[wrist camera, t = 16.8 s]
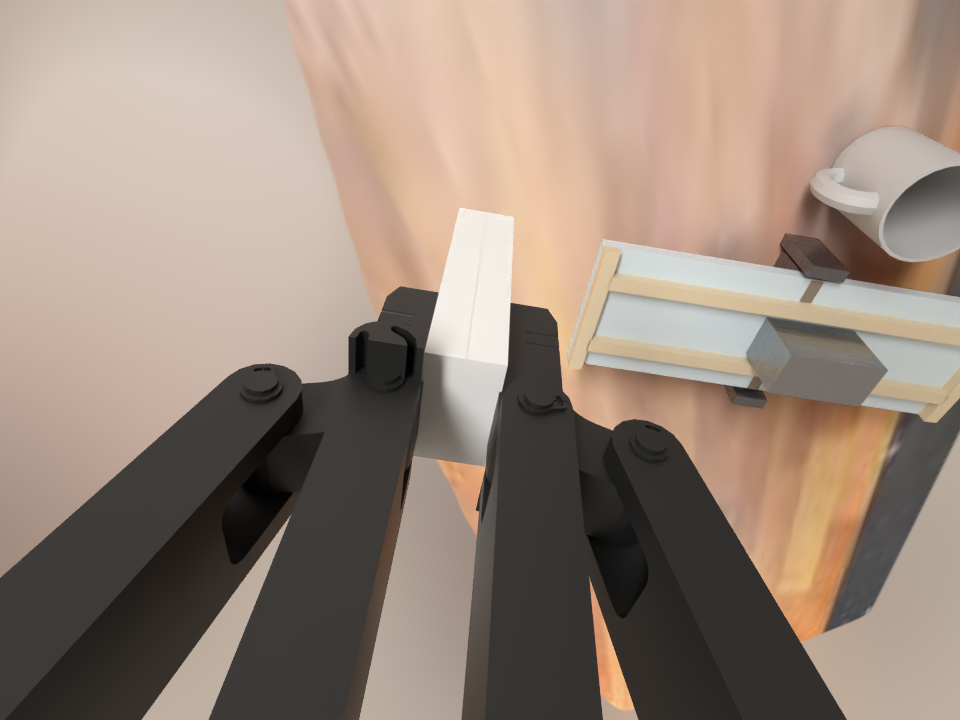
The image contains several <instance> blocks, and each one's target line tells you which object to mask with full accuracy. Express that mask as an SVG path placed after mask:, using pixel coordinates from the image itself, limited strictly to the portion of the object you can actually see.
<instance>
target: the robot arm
mask: <svg viewBox="0 0 960 720" xmlns="http://www.w3.org/2000/svg"><path fill="white" fill-rule="evenodd" d="M513 228H514V217H511V216H505V215H499V214H494V213H488V212H482V211H476V210H470V209H464V208H460V209H459V213H458V217H457V221H456V225H455V229H454V233H453V237H452V241H451V246H450V250H449V254H448V258H447V262H446V266H445V270H444V274H443V278H442V282H441V286H440V290H439V293H437V292H431V291H425V290H419V289H413V288H407V287H401V286H400V287H399V288H397V289H396V290H395V291H394V292H392V293H391V294H390V295H388V296H387V298H386V300H385V303H384V306H383V308H382V312H381V313H380V316H379V319H378V321H377V322H371V323H366V324H364V325H362V326H360V327H358V328H356V329H355V330H354V331H353V332H352V333H351V334H350V336H349V373H348V375H347V376H345V377H343V378H340V379H337V380H334V381H328V382H320V383H306V384H301V379H300V378H299V377H298V375H297V374H296V373H295V372H294V371H292V370H290V369H288V368H287V367H284V366H280V365H275V364H255V365H251V366H248V367H245V368H242V369H239V370H238V371H236V372H234V373H233V374H231V375H230V376H228V377H227V378H226V379H225V380H224V381H222V382H221V383H220V384H219V385H218V386H217V387H216V388H215V389H213V390H212V391H211V392H210V393H209V394H208V395H207V396H205V397H204V398H203V399H202V400H201V401H200V402H199V403H198V404H197V405H195V406H194V407H193V408H192V409H191V410H190V411H189V412H187V414H185V415H184V416H183V417H182V418H181V419H179V420H178V421H177V422H176V423H175V424H174V425H173V426H172V427H170V428H169V429H168V430H167V431H166V432H165V433H164V434H163V435H161V436H160V437H159V438H158V439H157V440H156V441H155V442H153V443H152V444H151V445H150V446H149V447H148V448H147V449H146V450H144V451H143V452H142V453H141V454H140V455H139V456H138V457H137V458H136V459H134V460H133V461H132V462H131V463H130V464H129V465H127V466H126V467H125V468H124V469H123V470H122V471H121V472H120V473H119V474H117V475H116V476H115V477H114V478H113V479H112V480H110V481H109V482H108V483H107V484H106V485H105V486H104V487H103V488H101V489H100V490H99V491H98V492H97V493H96V494H95V495H94V496H92V497H91V498H90V499H89V500H88V501H87V502H86V503H85V504H83V505H82V506H81V507H80V508H79V509H78V510H77V511H75V512H74V513H73V514H72V515H71V516H70V517H69V518H68V519H66V520H65V521H64V522H63V523H62V524H61V525H60V526H59V527H57V528H56V529H55V530H54V531H53V532H52V533H51V534H50V535H48V536H47V537H46V538H45V539H44V540H43V541H42V542H40V543H39V544H38V545H37V546H36V547H35V548H34V549H33V550H31V551H30V552H29V553H28V554H27V555H26V556H25V557H23V558H22V559H21V560H20V561H19V562H18V563H17V564H16V565H14V566H13V567H12V568H11V569H10V570H9V571H8V572H7V573H5V574H4V575H3V576H2V577H1V578H0V720H142V718H143V717H144V715H145V714H146V713H147V711H148V710H149V709H150V707H151V706H152V704H153V703H154V702H155V700H156V699H157V697H158V696H159V695H160V693H161V692H162V691H163V689H164V688H165V686H166V685H167V684H168V683H169V681H170V680H171V678H172V677H173V676H174V674H175V673H176V672H177V670H178V669H179V667H180V666H181V665H182V663H183V662H184V661H185V659H186V658H187V656H188V655H189V653H190V652H191V651H192V650H193V648H194V647H195V645H196V644H197V643H198V641H199V640H200V639H201V637H202V636H203V634H204V633H205V632H206V630H207V629H208V628H209V626H210V625H211V623H212V622H213V621H214V619H215V618H216V616H217V615H218V614H219V612H220V611H221V610H222V608H223V607H224V606H225V604H226V603H227V602H228V600H229V599H230V597H231V596H232V594H233V593H234V592H235V591H236V589H237V588H238V586H239V585H240V583H241V582H242V581H243V580H244V578H245V577H246V575H247V574H248V573H249V571H250V570H251V569H252V567H253V566H254V565H255V563H256V562H257V560H258V559H259V557H260V556H261V555H262V554H263V552H264V550H265V549H266V548H267V547H268V545H269V544H270V543H271V541H272V540H273V538H274V537H275V536H276V534H277V533H278V532H279V530H280V529H281V527H282V526H283V525H284V523H285V522H286V521H287V519H288V518H289V516H290V515H291V517H290V519H289V522H288V524H287V527H286V529H285V532H284V534H283V537H282V540H281V542H280V544H279V547H278V549H277V552H276V554H275V557H274V559H273V562H272V564H271V567H270V569H269V572H268V574H267V577H266V579H265V581H264V584H263V587H262V589H261V592H260V594H259V596H258V599H257V601H256V604H255V606H254V609H253V611H252V614H251V616H250V619H249V621H248V624H247V626H246V629H245V631H244V634H243V636H242V639H241V641H240V643H239V646H238V649H237V651H236V653H235V656H234V658H233V661H232V663H231V666H230V668H229V671H228V673H227V676H226V678H225V681H224V683H223V686H222V688H221V690H220V693H219V696H218V698H217V700H216V703H215V706H214V708H213V710H212V713H211V715H210V718H209V720H359V717H360V712H361V708H362V703H363V698H364V693H365V689H366V683H367V679H368V674H369V669H370V665H371V660H372V655H373V650H374V646H375V641H376V636H377V632H378V627H379V622H380V617H381V612H382V607H383V602H384V599H385V594H386V588H387V584H388V580H389V575H390V570H391V565H392V561H393V556H394V551H395V546H396V542H397V537H398V532H399V527H400V522H401V518H402V513H403V508H404V503H405V499H406V494H407V489H408V485H409V480H410V474H411V464H412V458H413V456H420V457H426V458H433V459H439V460H446V461H452V462H459V463H466V464H472V465H479V466H484V465H485V461H486V468H485V473H484V478H483V482H482V486H481V490H480V495H479V499H478V503H477V507H476V511H479V520H478V532H477V544H476V556H475V567H474V579H473V593H472V604H471V616H470V627H469V639H468V650H467V662H466V663H467V664H466V674H465V686H464V698H463V709H462V720H603V717H602V707H601V696H600V686H599V675H598V665H597V655H596V644H595V634H594V624H593V613H592V603H591V593H590V582H589V577H590V580H591V583H592V586H593V588H594V591H595V594H596V597H597V600H598V603H599V606H600V609H601V612H602V615H603V618H604V620H605V623H606V626H607V629H608V632H609V635H610V638H611V641H612V644H613V647H614V650H615V652H616V655H617V658H618V661H619V664H620V667H621V670H622V673H623V676H624V679H625V682H626V684H627V687H628V690H629V693H630V696H631V699H632V702H633V705H634V708H635V711H636V713H637V716H638V719H639V720H847V719H846V718H845V716H844V714H843V713H842V711H841V709H840V708H839V706H838V705H837V703H836V701H835V699H834V698H833V696H832V694H831V693H830V691H829V689H828V688H827V686H826V684H825V683H824V681H823V679H822V678H821V676H820V674H819V673H818V671H817V669H816V668H815V666H814V664H813V663H812V661H811V659H810V658H809V656H808V654H807V653H806V651H805V649H804V648H803V646H802V644H801V643H800V641H799V639H798V638H797V636H796V634H795V633H794V631H793V629H792V628H791V626H790V624H789V623H788V621H787V619H786V618H785V616H784V614H783V613H782V611H781V609H780V608H779V606H778V604H777V603H776V601H775V599H774V598H773V596H772V594H771V593H770V591H769V589H768V588H767V586H766V584H765V583H764V581H763V579H762V578H761V576H760V574H759V573H758V571H757V569H756V568H755V566H754V564H753V563H752V561H751V559H750V558H749V556H748V554H747V553H746V551H745V549H744V548H743V546H742V544H741V543H740V541H739V539H738V538H737V536H736V534H735V533H734V531H733V529H732V528H731V526H730V524H729V523H728V521H727V519H726V518H725V516H724V514H723V513H722V511H721V509H720V508H719V506H718V504H717V503H716V501H715V499H714V498H713V496H712V494H711V493H710V491H709V489H708V488H707V486H706V484H705V483H704V481H703V479H702V478H701V476H700V474H699V473H698V471H697V469H696V468H695V466H694V464H693V463H692V461H691V459H690V458H689V456H688V454H687V453H686V451H685V449H684V448H683V446H682V444H681V443H680V442H679V441H678V440H677V439H676V437H675V436H674V435H673V434H672V433H670V432H669V431H667V430H666V429H664V428H663V427H661V426H659V425H656V424H654V423H651V422H649V421H644V420H636V419H633V420H628V421H623V422H621V423H620V424H619V425H617V426H616V427H615V428H614V430H613V431H612V430H610V429H607V428H605V427H602V426H600V425H597V424H595V423H593V422H591V421H589V420H587V419H585V418H583V417H582V416H580V415H579V414H577V413H576V412H575V411H574V410H573V407H572V404H571V402H570V399H569V397H568V396H567V395H566V394H565V393H564V392H563V389H562V377H561V365H560V353H559V341H558V328H557V322H556V320H555V319H554V318H553V316H552V315H551V313H550V312H549V310H548V309H544V308H538V307H532V306H526V305H520V304H514V303H510V300H511V276H512V252H513Z"/></svg>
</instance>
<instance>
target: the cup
mask: <svg viewBox="0 0 960 720" xmlns="http://www.w3.org/2000/svg"><path fill="white" fill-rule="evenodd" d="M810 191H811V192H812V194H813V195H814V196H815V197H816V198H817V199H818V200H820V201H821V202H823V203H825V204H826V205H828V206H831V207H833V208H835V209H838V211H839V212H840V213H842V214H843V215H844V216H845V217H846V218H847V219H848V220H850V221H851V222H852V223H853V224H854V225H855V226H856V227H858V228H859V229H860V230H861V231H862V232H863V233H865V234H866V235H867V236H868V237H869V238H870V239H871V240H873V241H874V242H875V243H876V244H877V245H878V246H879V247H881V248H882V249H883V250H884V251H885V252H886V253H888V254H889V255H890V256H892V257H894V258H896V259H898V260H901V261H908V262H922V261H929V260H933V259H936V258H940V257H943V256H945V255H947V254H950V253H952V252H954V251H956V250H958V249H959V248H960V153H959V152H957V151H955V150H953V149H951V148H949V147H947V146H945V145H943V144H941V143H939V142H937V141H935V140H933V139H931V138H929V137H926V136H924V135H922V134H920V133H918V132H916V131H914V130H912V129H909V128H905V127H899V126H891V127H882V128H879V129H876V130H874V131H871V132H868V133H866V134H865V135H863V136H861V137H859V138H858V139H856V140H855V141H853V142H852V143H851V144H850V145H849V146H848V147H846V148H845V149H844V150H843V151H842V153H841V154H840V155H839V156H838V158H837V159H836V160H835V162H834V164H833V166H832V168H830V169H822V170H820V171H818V172H816V173H815V174H814V176H813V177H812V178H811V179H810Z"/></svg>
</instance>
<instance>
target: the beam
mask: <svg viewBox="0 0 960 720" xmlns="http://www.w3.org/2000/svg"><path fill="white" fill-rule="evenodd" d="M766 317H770V318H776V319H782V320H788V321H795V322H801V323H807V324H814V325H820V326H826V327H832V328H839V329H845V330H851V331H855V332H856V334H857V335H858V336H859V337H860V338H861V339H862V340H863V342H864V343H865V344H866V345H867V346H868V347H869V349H870V350H871V351H872V352H873V353H874V354H875V356H876V357H877V358H878V359H879V360H880V361H881V363H882V364H883V365H884V366H885V367H886V368H887V370H888V372H887V373H886V374H885V375H884V377H883V378H882V379H881V380H880V382H879V383H878V384H877V385H876V387H875V388H874V389H873V390H872V392H871V393H870V394H869V395H868V397H867V398H866V399H865V401H864V402H863V403H862V404H861V405H862V406H868V407H875V408H881V409H888V410H895V411H901V412H908V413H914V414H919V416H920V417H921V418H922V419H923V420H924V421H926V422H932V423H937V422H938V421H939V419H940V418H941V417H942V416H943V415H944V414H945V413H946V412H947V411H948V410H949V409H950V408H951V407H952V406H953V405H954V403H955V402H956V401H957V400H958V399H959V398H960V297H955V296H948V295H942V294H936V293H930V292H924V291H918V290H912V289H906V288H900V287H893V286H887V285H881V284H875V283H869V282H863V281H857V280H851V279H845V281H844V283H842V282H836V281H830V280H824V279H818V278H812V277H807V276H806V274H805V273H804V272H802V271H795V270H789V269H783V268H777V267H771V266H765V265H759V264H753V263H747V262H740V261H734V260H728V259H722V258H716V257H710V256H704V255H698V254H691V253H685V252H679V251H673V250H667V249H661V248H655V247H649V246H643V245H636V244H630V243H624V242H618V241H612V240H606V239H602V242H601V246H600V249H599V252H598V255H597V258H596V262H595V265H594V268H593V271H592V274H591V278H590V281H589V284H588V287H587V290H586V294H585V297H584V300H583V303H582V306H581V309H580V313H579V316H578V319H577V322H576V325H575V329H574V332H573V335H572V338H571V341H570V345H569V348H568V351H567V359H568V367H569V368H574V369H582V366H583V363H584V364H591V365H597V366H604V367H610V368H617V369H624V370H630V371H637V372H643V373H650V374H657V375H663V376H670V377H676V378H683V379H690V380H696V381H703V382H710V383H716V384H723V385H729V386H736V387H743V388H749V389H756V390H762V391H766V389H765V387H764V385H763V384H762V382H761V380H760V378H759V376H758V374H757V373H756V371H755V369H754V367H753V365H752V364H751V362H750V360H749V358H748V356H747V355H746V352H747V350H748V348H749V347H750V345H751V343H752V341H753V340H754V338H755V336H756V334H757V333H758V331H759V329H760V327H761V326H762V324H763V322H764V320H765V319H766Z"/></svg>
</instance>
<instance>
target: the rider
mask: <svg viewBox="0 0 960 720" xmlns="http://www.w3.org/2000/svg"><path fill="white" fill-rule="evenodd" d="M746 355H747V356H748V358H749V360H750V362H751V364H752V365H753V367H754V369H755V371H756V373H757V374H758V376H759V378H760V380H761V382H762V384H763V385H764V387H765V389H766V391H767V393H771V394H777V395H784V396H790V397H797V398H804V399H810V400H817V401H823V402H830V403H837V404H843V405H850V406H856V407H860V406H861V404H862V403H863V402H864V401H865V399H866V398H867V397H868V395H869V394H870V393H871V392H872V390H873V389H874V388H875V387H876V385H877V384H878V383H879V382H880V380H881V379H882V378H883V377H884V375H885V374H886V373H887V372H888V370H887V368H886V367H885V366H884V365H883V364H882V363H881V361H880V360H879V359H878V358H877V357H876V356H875V354H874V353H873V352H872V351H871V350H870V349H869V347H868V346H867V345H866V344H865V343H864V342H863V340H862V339H861V338H860V337H859V336H858V335H857V334H856V332H855V331H851V330H845V329H839V328H832V327H826V326H820V325H814V324H807V323H801V322H795V321H788V320H782V319H776V318H770V317H766V319H765V320H764V322H763V324H762V326H761V327H760V329H759V331H758V333H757V334H756V336H755V338H754V340H753V341H752V343H751V345H750V347H749V348H748V350H747V352H746Z"/></svg>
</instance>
